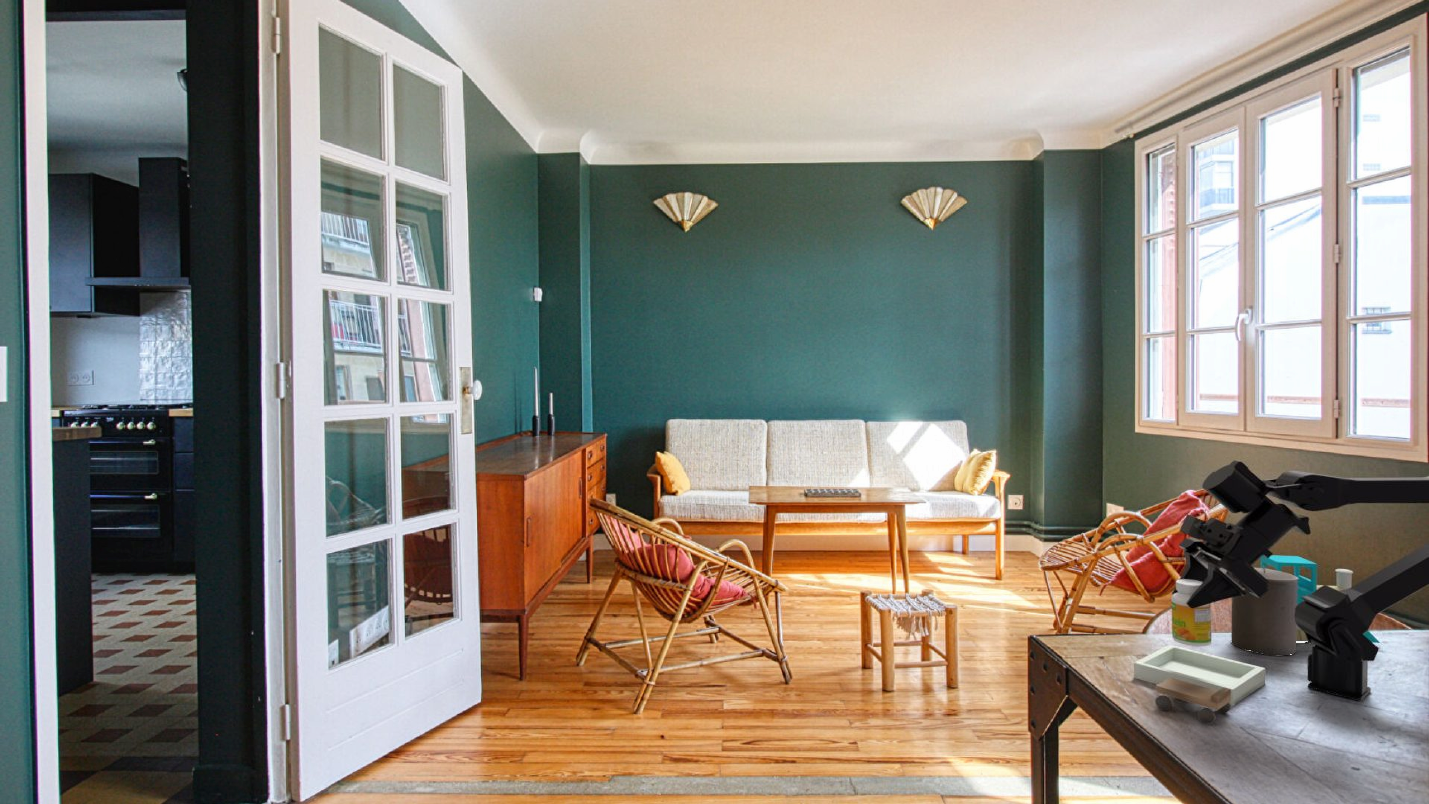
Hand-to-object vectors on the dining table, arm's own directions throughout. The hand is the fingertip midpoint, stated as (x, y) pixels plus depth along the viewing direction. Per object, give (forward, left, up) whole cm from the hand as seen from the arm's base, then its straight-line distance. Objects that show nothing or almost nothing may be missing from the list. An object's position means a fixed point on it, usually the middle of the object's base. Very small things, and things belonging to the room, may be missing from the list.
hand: (1181, 601), depth 122 cm
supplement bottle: (-1, -1, -7) cm, 7 cm away
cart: (-6, +12, -13) cm, 18 cm away
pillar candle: (-3, -29, -13) cm, 32 cm away
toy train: (-8, -42, -13) cm, 45 cm away
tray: (-2, -2, -13) cm, 13 cm away
